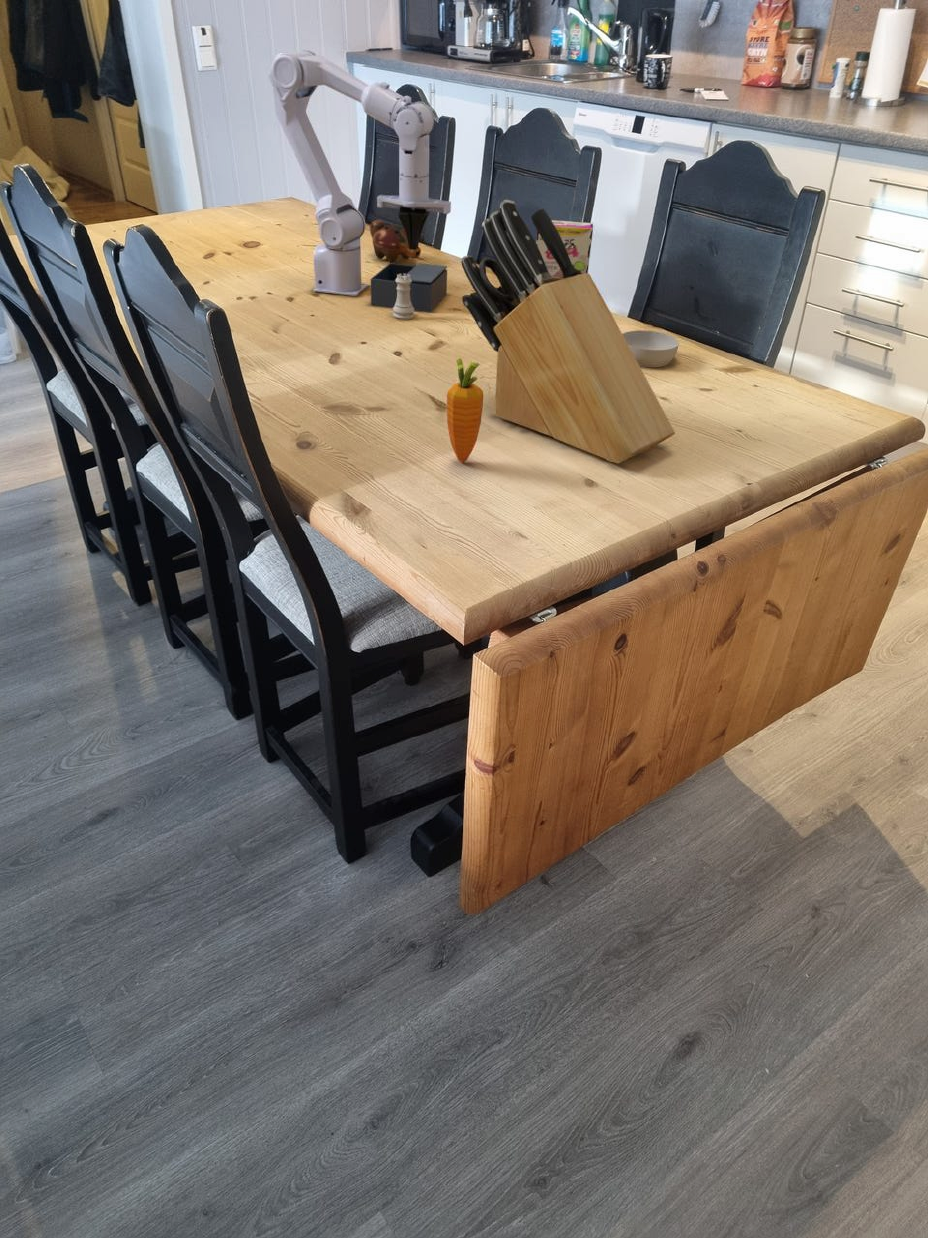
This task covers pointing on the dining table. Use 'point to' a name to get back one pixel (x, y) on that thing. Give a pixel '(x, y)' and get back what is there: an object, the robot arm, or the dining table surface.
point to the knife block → (559, 346)
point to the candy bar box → (569, 246)
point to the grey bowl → (651, 347)
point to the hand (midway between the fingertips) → (413, 248)
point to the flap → (425, 272)
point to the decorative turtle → (391, 242)
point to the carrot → (464, 412)
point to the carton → (420, 293)
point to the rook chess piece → (403, 299)
